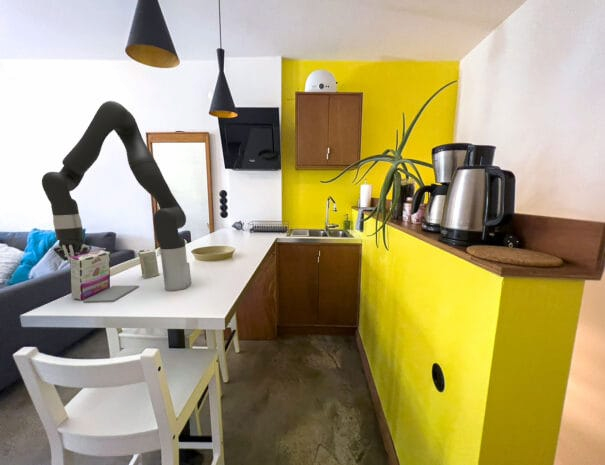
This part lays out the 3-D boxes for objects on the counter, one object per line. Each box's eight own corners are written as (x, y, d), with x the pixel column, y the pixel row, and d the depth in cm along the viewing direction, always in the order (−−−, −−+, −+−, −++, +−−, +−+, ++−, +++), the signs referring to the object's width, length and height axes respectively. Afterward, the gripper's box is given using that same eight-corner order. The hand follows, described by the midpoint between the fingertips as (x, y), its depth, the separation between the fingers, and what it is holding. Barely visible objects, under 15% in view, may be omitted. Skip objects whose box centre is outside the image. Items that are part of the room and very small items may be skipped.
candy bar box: (100, 286, 100) (101, 249, 97) (110, 289, 99) (111, 252, 96) (70, 297, 89) (69, 256, 86) (80, 301, 89) (80, 259, 85)
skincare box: (156, 273, 118) (153, 249, 116) (159, 275, 115) (156, 250, 113) (141, 276, 113) (138, 252, 111) (143, 279, 110) (140, 253, 108)
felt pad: (139, 287, 101) (138, 285, 101) (113, 302, 87) (113, 300, 87) (113, 287, 101) (112, 285, 101) (83, 302, 87) (83, 300, 87)
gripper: (94, 224, 94) (101, 267, 96) (60, 225, 93) (69, 267, 96) (77, 227, 86) (85, 273, 89) (40, 228, 86) (49, 274, 89)
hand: (76, 270), depth 93 cm, fingers closed
